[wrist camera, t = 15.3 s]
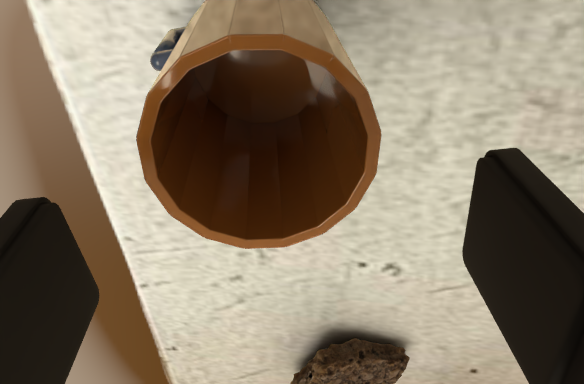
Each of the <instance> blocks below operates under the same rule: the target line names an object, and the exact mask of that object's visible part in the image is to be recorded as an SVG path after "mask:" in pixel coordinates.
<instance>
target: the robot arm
mask: <svg viewBox="0 0 584 384" xmlns="http://www.w3.org/2000/svg"><path fill="white" fill-rule="evenodd" d="M463 260H464V264H465V266H466V268H467V270H468V272H469V273H470V275H471V277H472V279H473V281H474V283H475V284H476V286H477V288H478V290H479V292H480V294H481V296H482V297H483V299H484V301H485V303H486V305H487V307H488V308H489V310H490V312H491V314H492V316H493V318H494V319H495V321H496V323H497V325H498V327H499V329H500V331H501V332H502V334H503V336H504V338H505V340H506V342H507V343H508V345H509V347H510V349H511V351H512V353H513V355H514V356H515V358H516V360H517V362H518V364H519V366H520V367H521V369H522V371H523V373H524V375H525V377H526V379H527V380H528V382H529V384H584V213H583V212H582V211H581V210H580V209H579V208H578V207H577V206H576V205H575V204H574V203H573V202H572V201H571V200H570V199H569V198H568V197H567V196H566V195H565V194H564V193H563V192H562V191H561V190H560V189H559V188H558V187H557V186H556V185H555V184H554V183H553V182H552V181H551V180H550V179H548V178H547V177H546V176H545V175H544V174H543V173H542V172H541V171H540V170H539V169H538V168H537V167H536V166H535V165H534V164H533V163H532V162H531V161H530V160H529V159H528V158H527V157H526V156H525V155H524V154H523V153H522V152H521V151H520V150H519V149H517V148H508V149H498V150H489V151H488V152H487V153H486V155H485V157H484V158H480V159H479V160H478V161H477V165H476V171H475V178H474V184H473V190H472V196H471V202H470V208H469V214H468V220H467V226H466V232H465V238H464V244H463ZM98 301H99V289H98V287H97V284H96V282H95V280H94V278H93V276H92V274H91V272H90V270H89V268H88V266H87V264H86V261H85V259H84V257H83V255H82V253H81V251H80V249H79V247H78V245H77V243H76V240H75V239H74V236H73V234H72V232H71V230H70V228H69V226H68V224H67V222H66V220H65V218H64V215H63V213H62V212H61V209H60V208H59V206H58V205H57V204H56V203H51V202H50V200H48V199H47V198H45V197H40V198H31V199H22V200H16V201H15V202H14V203H12V205H11V206H10V207H9V208H8V210H7V211H6V212H5V213H4V214H3V215H2V217H1V218H0V384H65V382H66V379H67V377H68V375H69V372H70V370H71V367H72V365H73V362H74V360H75V358H76V355H77V353H78V350H79V348H80V346H81V343H82V341H83V338H84V336H85V333H86V331H87V329H88V326H89V324H90V321H91V319H92V317H93V314H94V312H95V309H96V307H97V305H98Z"/></svg>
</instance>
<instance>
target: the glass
mask: <svg viewBox="0 0 584 384" xmlns="http://www.w3.org/2000/svg"><path fill="white" fill-rule="evenodd" d="M136 138H137V139H136V141H137V146H138V150H139V155H140V160H141V164H142V169H143V174H144V178H145V180H146V183H147V184H148V185H149V187H150V188H151V190H152V191H153V192H154V194H155V195H156V197H157V198H158V199H159V201H160V202H161V204H162V205H163V206H164V208H165V209H166V210H167V212H168V213H169V214H170V215H171V216H172V217H174V218H175V219H177V220H178V221H180V222H181V223H183V224H184V225H186V226H187V227H189V228H190V229H192V230H193V231H195V232H196V233H198V234H199V235H201V236H202V237H205V238H207V239H210V240H214V241H218V242H221V243H225V244H229V245H233V246H236V247H240V248H245V249H251V248H278V247H285V246H286V247H288V246H290V245H293V244H296V243H299V242H302V241H305V240H307V239H310V238H313V237H316V236H319V235H321V234H323V233H325V232H327V231H328V230H329V229H330V228H332V227H333V226H334V225H336V224H337V223H338V222H339V221H341V220H342V219H343V218H344V217H346V216H347V215H348V214H350V213H351V212H352V211H353V210H355V208H356V207H357V205H358V204H359V202H360V200H361V199H362V197H363V195H364V194H365V192H366V190H367V189H368V187H369V185H370V184H371V182H372V180H373V179H374V177H375V175H376V173H377V165H378V157H379V149H380V142H381V129H380V126H379V123H378V120H377V117H376V114H375V111H374V108H373V105H372V102H371V99H370V96H369V93H368V91H367V89H366V87H365V85H364V83H363V82H362V80H361V78H360V76H359V74H358V73H357V71H356V69H355V67H354V65H353V64H352V62H351V60H350V58H349V57H348V55H347V53H346V51H345V49H344V48H343V46H342V44H341V42H340V40H339V39H338V37H337V35H336V33H335V31H334V30H333V28H332V26H331V24H330V23H329V21H328V19H327V17H326V16H325V14H324V13H323V12H322V11H321V10H320V8H319V7H318V6H317V5H316V3H315V2H314V1H313V0H205V1H204V2H203V4H202V5H201V7H200V8H199V9H198V11H197V12H196V13H195V14H194V15H193V17H192V18H191V20H190V22H189V23H188V25H187V27H186V29H185V30H184V32H183V34H182V36H181V37H180V39H179V41H178V42H177V44H176V46H175V48H174V49H173V51H172V53H171V54H170V56H169V58H168V60H167V61H166V63H165V65H164V67H163V68H162V70H161V72H160V73H159V75H158V77H157V79H156V80H155V82H154V84H153V85H152V87H151V89H150V91H149V92H148V94H147V96H146V100H145V104H144V108H143V112H142V116H141V120H140V124H139V128H138V132H137V136H136Z"/></svg>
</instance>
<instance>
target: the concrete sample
mask: <svg viewBox="0 0 584 384" xmlns="http://www.w3.org/2000/svg"><path fill="white" fill-rule="evenodd" d="M404 353H405V349H404V348H401V347H396V346H393V345H391V344H378V343H372V342H369V341H365V340H358V339H356V338H354V339H352V340H350V341H347V342H345V343H344V344H331V345H330V346H329V348H327V349H323V350H322V349H320V350H318V351H317V353H316V356H315V357H314V359H311V360H309V362H308V363H307V366H305V367H303V368H302V369H301V371H300V372H298V373H296V374H294V379H293V381H292V382H291V384H394V383H396V381H397V380H398V379H399V378H400V377H401V376H402V375H401V374H402V373H403V372H404V370H405V369H406V366H407V363H408V361H409V357H408V356H407V355H405V354H404Z"/></svg>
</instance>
